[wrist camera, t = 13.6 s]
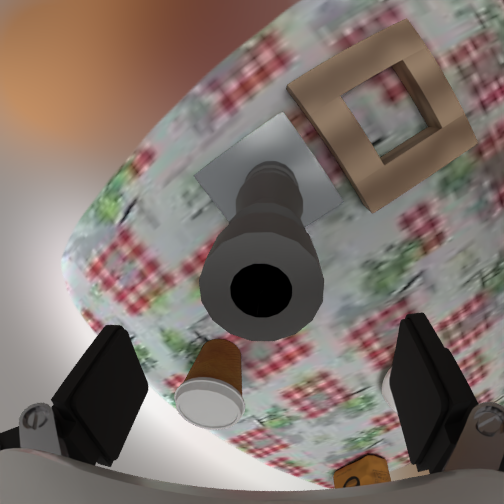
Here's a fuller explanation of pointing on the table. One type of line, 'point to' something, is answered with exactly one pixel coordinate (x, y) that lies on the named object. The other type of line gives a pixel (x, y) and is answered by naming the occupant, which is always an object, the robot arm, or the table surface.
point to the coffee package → (363, 473)
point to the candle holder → (264, 261)
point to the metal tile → (270, 149)
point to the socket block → (352, 135)
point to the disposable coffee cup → (213, 387)
